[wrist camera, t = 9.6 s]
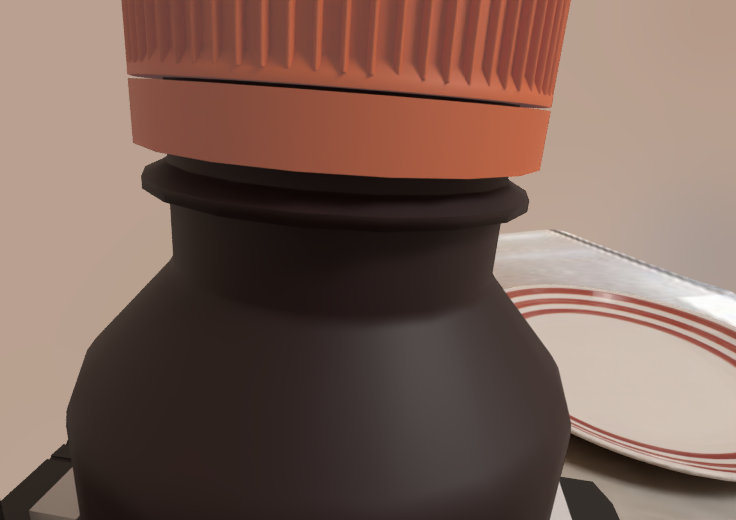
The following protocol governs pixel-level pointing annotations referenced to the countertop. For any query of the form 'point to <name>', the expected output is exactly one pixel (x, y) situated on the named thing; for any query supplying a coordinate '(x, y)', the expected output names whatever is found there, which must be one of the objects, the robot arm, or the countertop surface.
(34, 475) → the robot arm
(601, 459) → the countertop surface
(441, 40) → the vinegar
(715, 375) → the dinner plate
